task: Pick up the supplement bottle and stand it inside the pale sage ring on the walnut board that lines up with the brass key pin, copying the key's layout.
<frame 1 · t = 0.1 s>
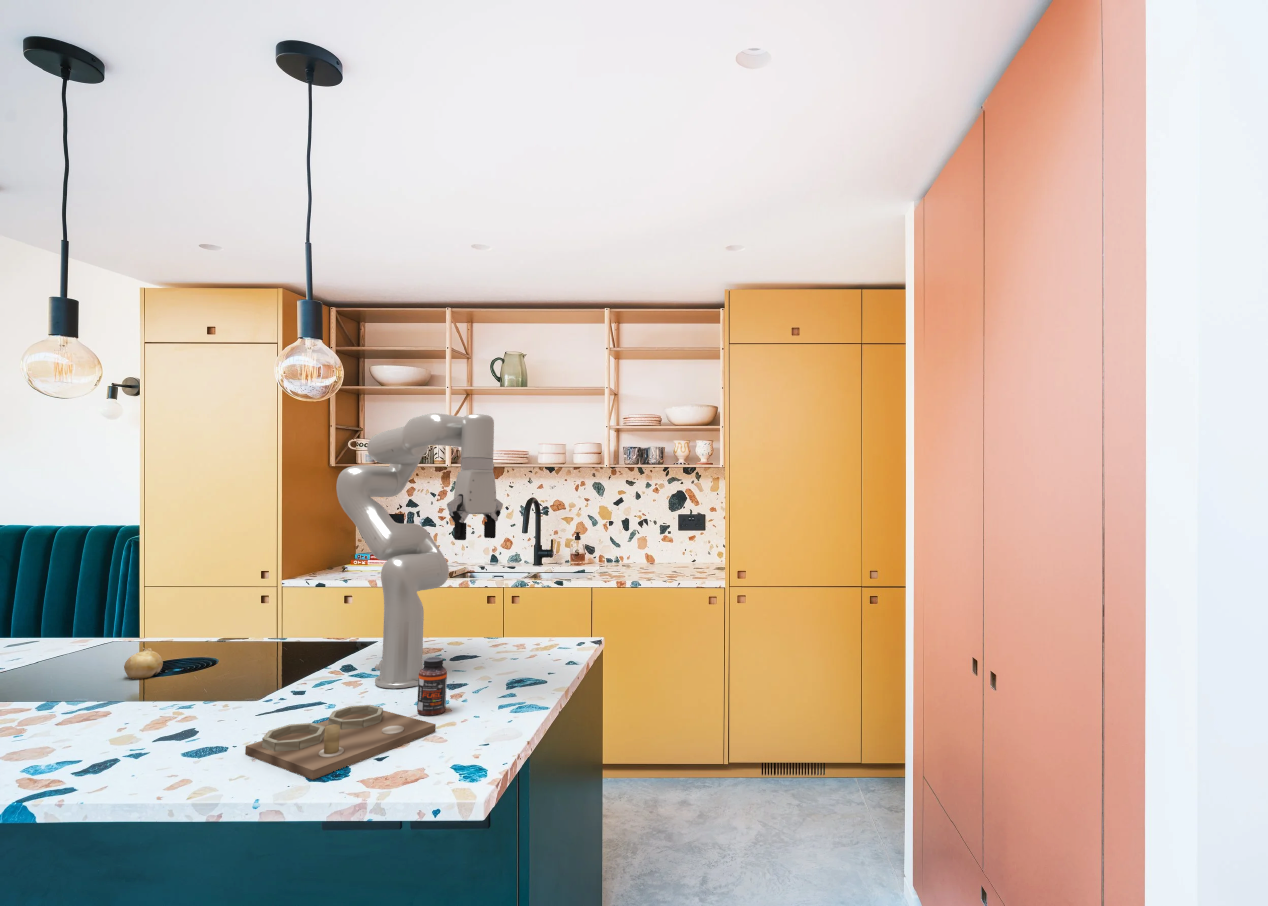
hand: (475, 538, 154), 37 cm above the counter, tool pointing down, fingers open, 9 cm apart
layout board: (345, 742, 123), on the counter
supplement bottle: (431, 712, 141), on the counter
onion: (143, 677, 166), on the counter
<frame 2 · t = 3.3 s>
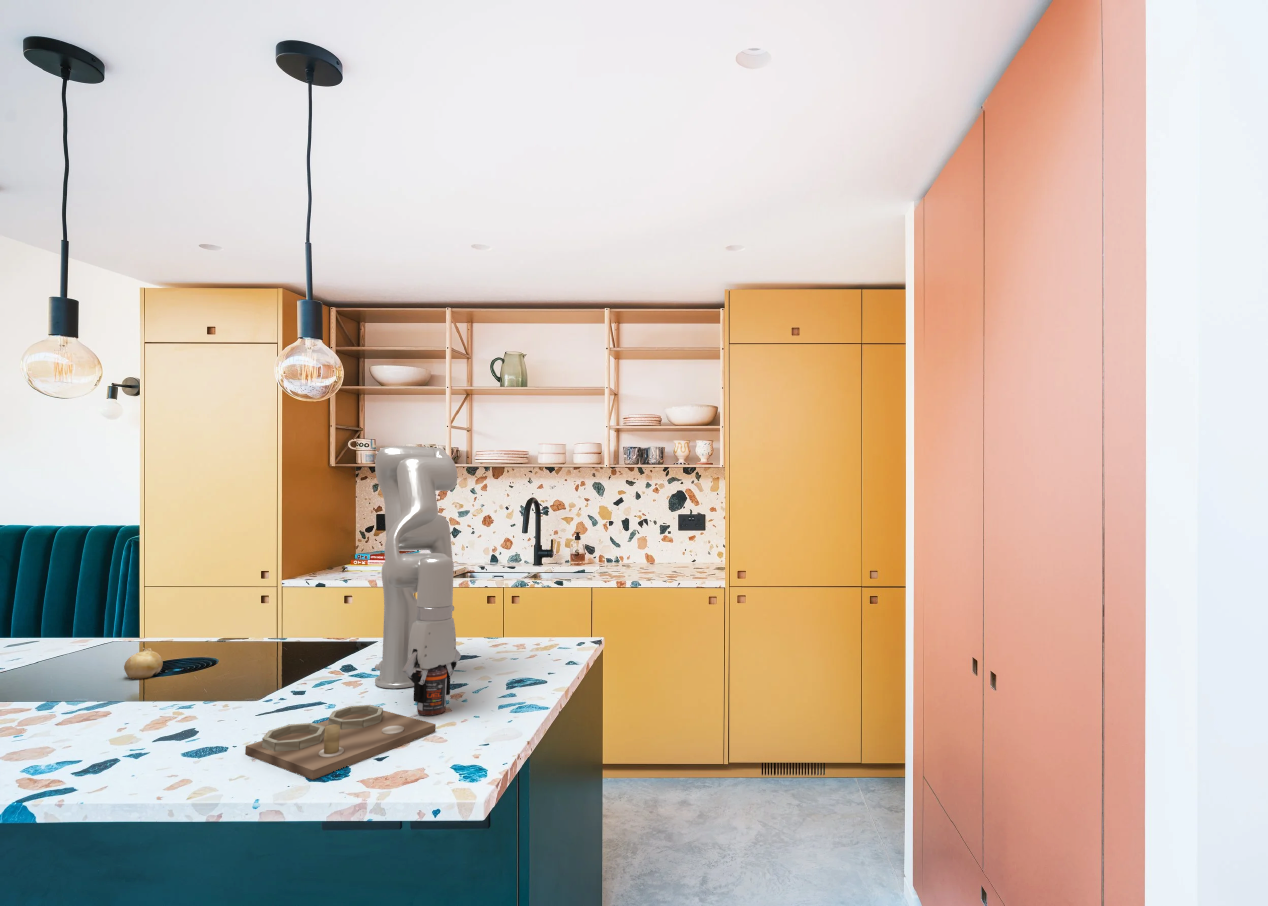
hand: (432, 697, 141), 3 cm above the counter, tool pointing down, fingers closed on supplement bottle, 6 cm apart
supplement bottle: (431, 712, 141), on the counter, touching gripper
everything else where it was.
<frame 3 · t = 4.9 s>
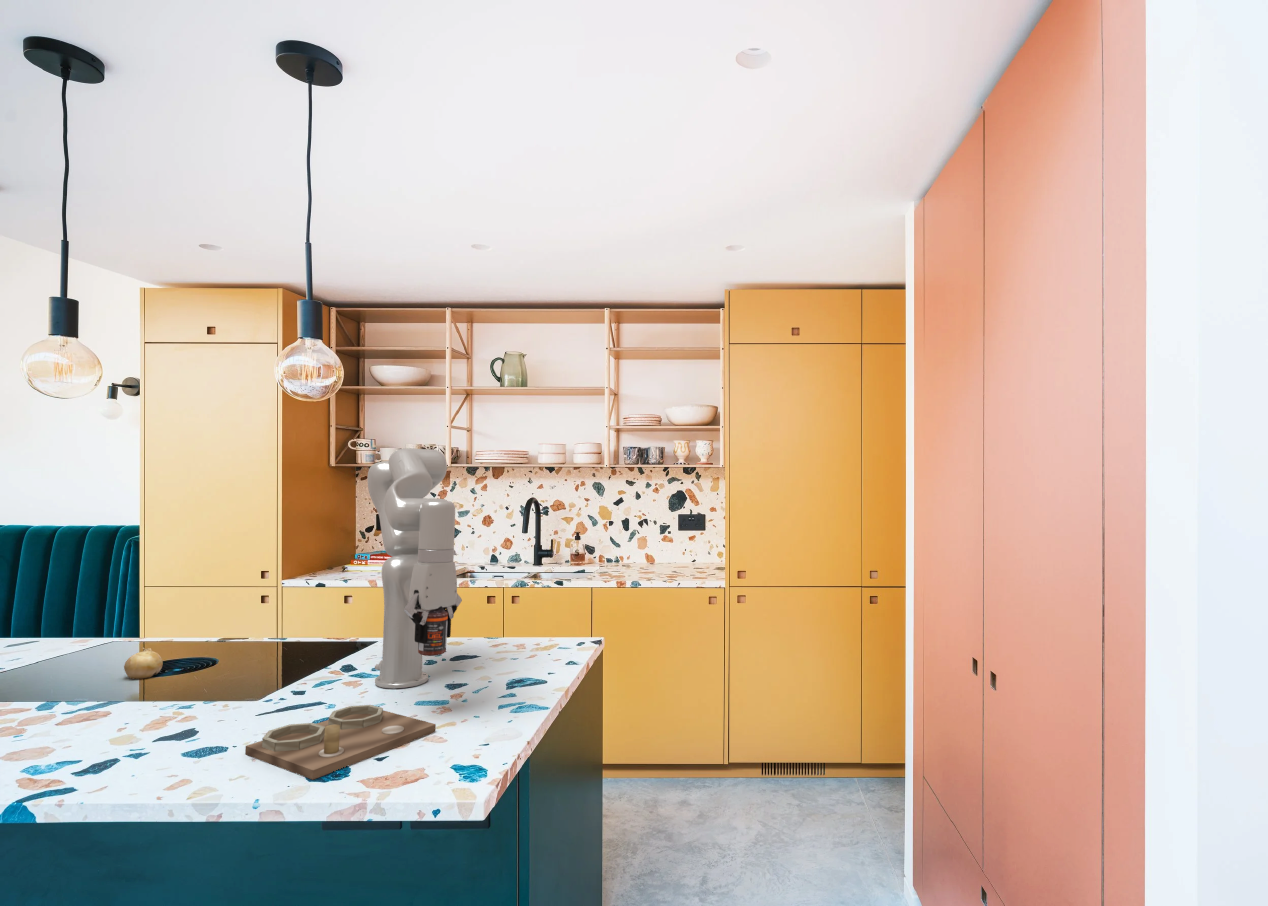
hand: (432, 638, 143), 15 cm above the counter, tool pointing down, fingers closed on supplement bottle, 6 cm apart
supplement bottle: (432, 654, 142), point 12 cm above the counter, touching gripper
everything else where it was.
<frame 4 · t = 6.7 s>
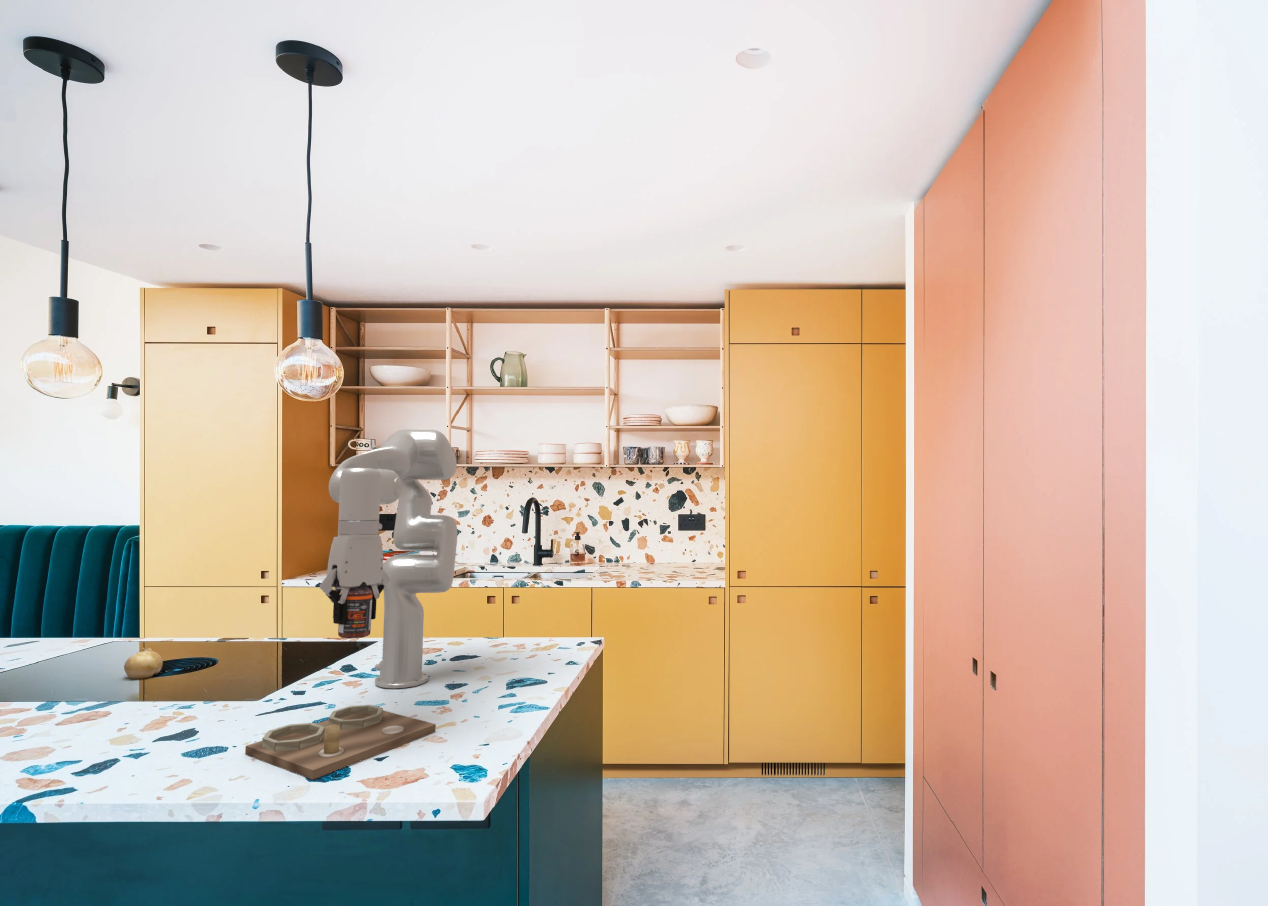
hand: (354, 620, 129), 22 cm above the counter, tool pointing down, fingers closed on supplement bottle, 5 cm apart
supplement bottle: (354, 637, 128), point 19 cm above the counter, touching gripper
everything else where it was.
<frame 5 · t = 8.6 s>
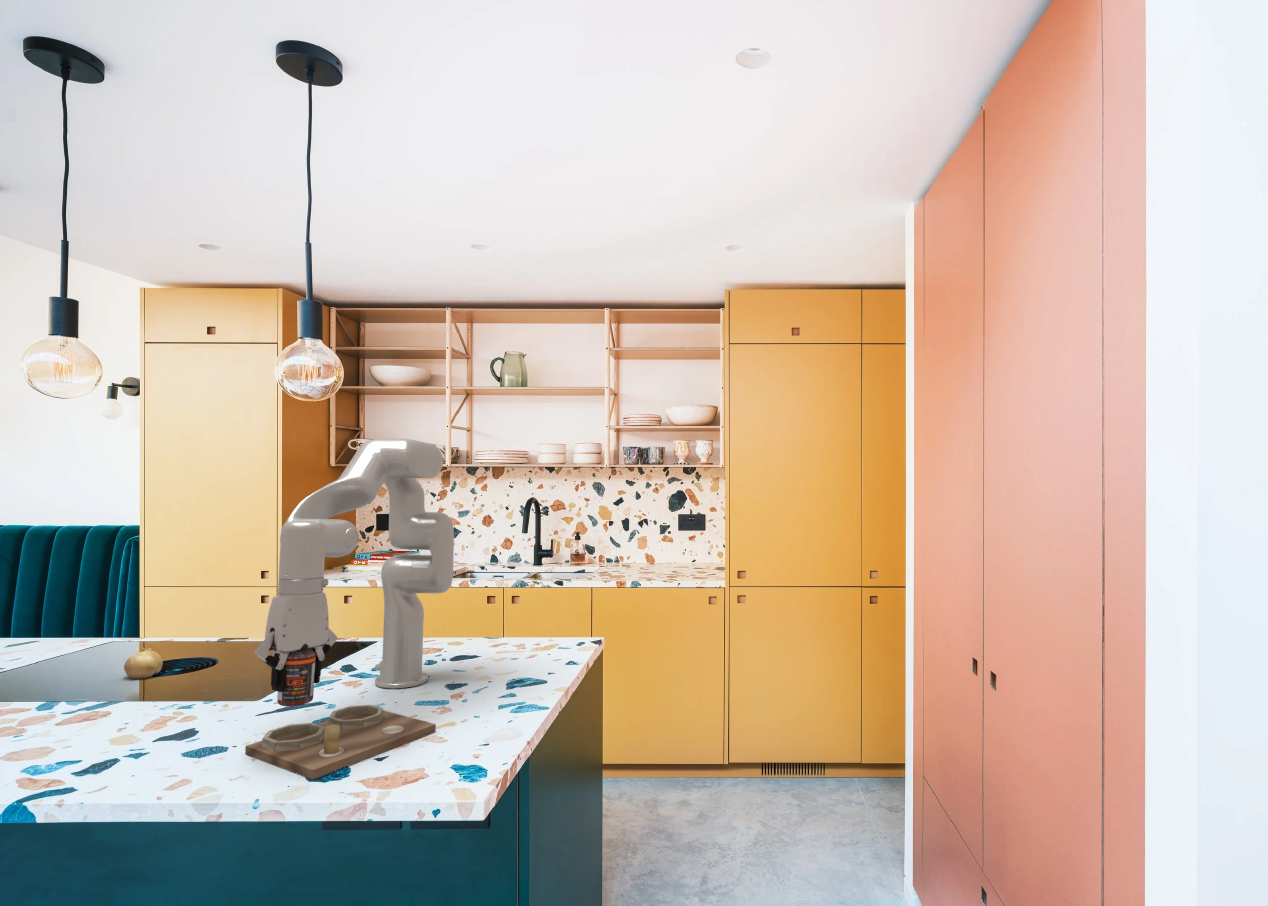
hand: (296, 685, 120), 11 cm above the counter, tool pointing down, fingers closed on supplement bottle, 5 cm apart
supplement bottle: (295, 703, 120), point 8 cm above the counter, touching gripper
everything else where it was.
when the fingers open (6 cm above the counter, at t = 10.2 s): supplement bottle drops 1 cm, resting on layout board.
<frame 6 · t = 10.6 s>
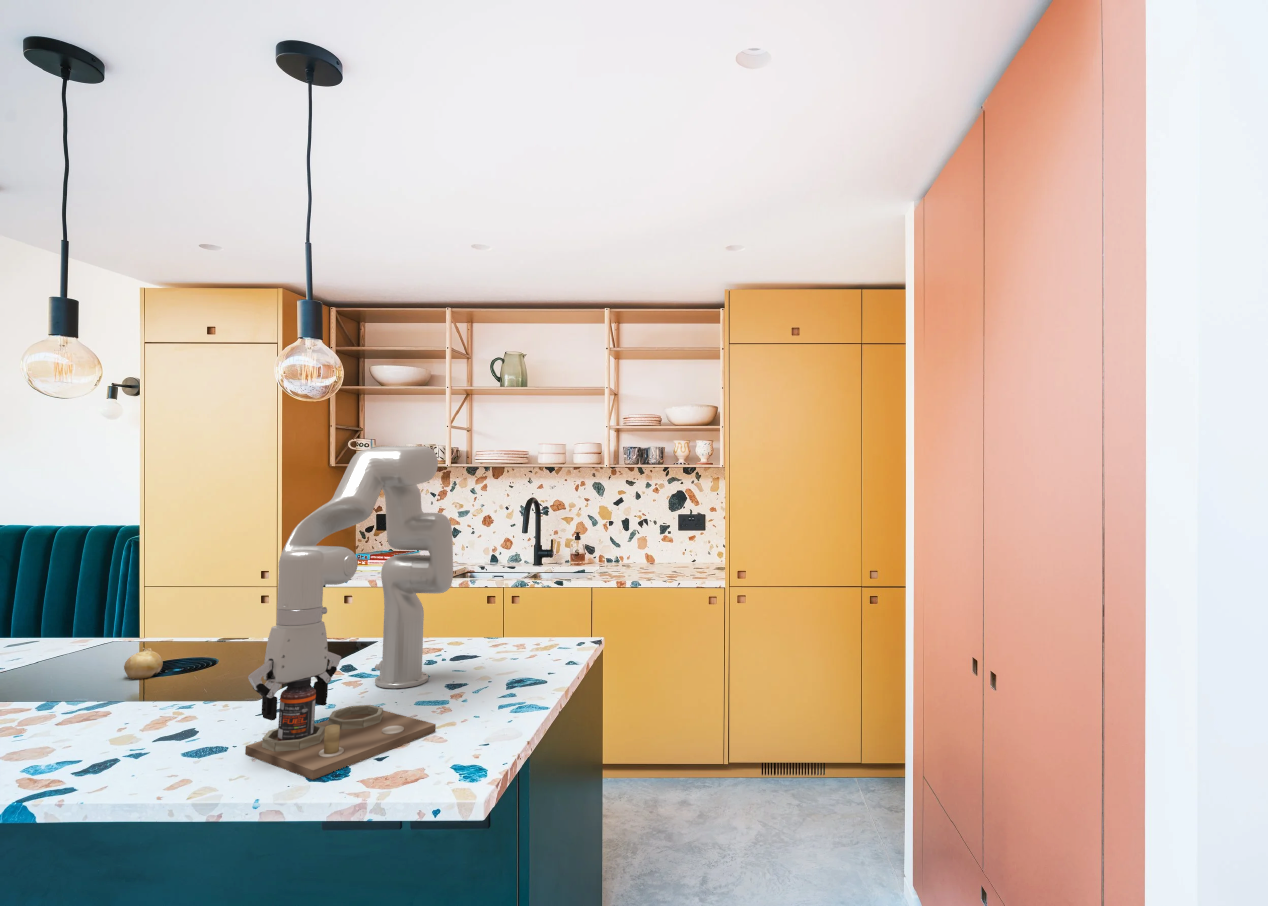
hand: (295, 711, 120), 7 cm above the counter, tool pointing down, fingers open, 9 cm apart
supplement bottle: (295, 741, 120), point 1 cm above the counter, touching layout board
everything else where it was.
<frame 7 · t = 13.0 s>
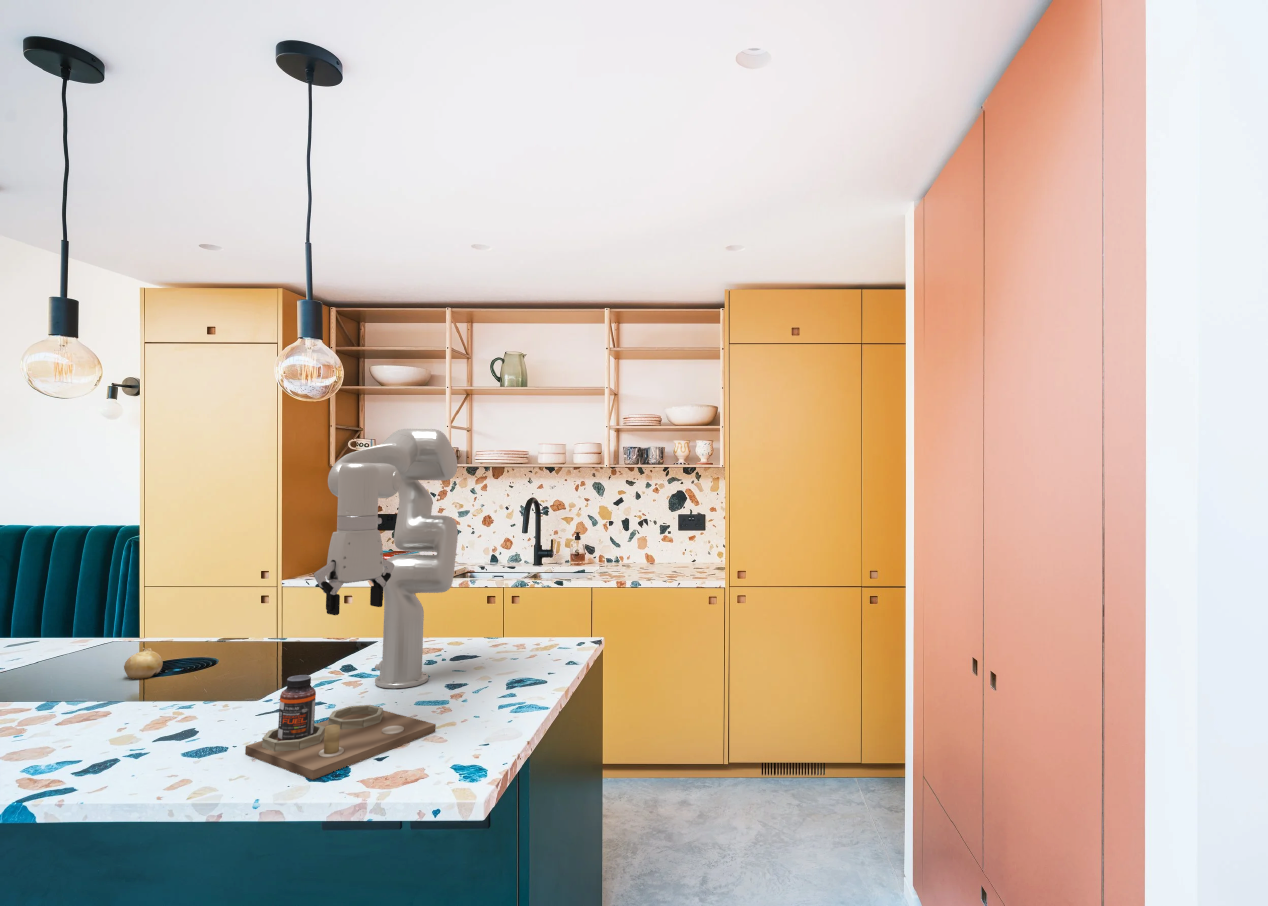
hand: (355, 610, 130), 24 cm above the counter, tool pointing down, fingers open, 9 cm apart
nothing on the counter moved.
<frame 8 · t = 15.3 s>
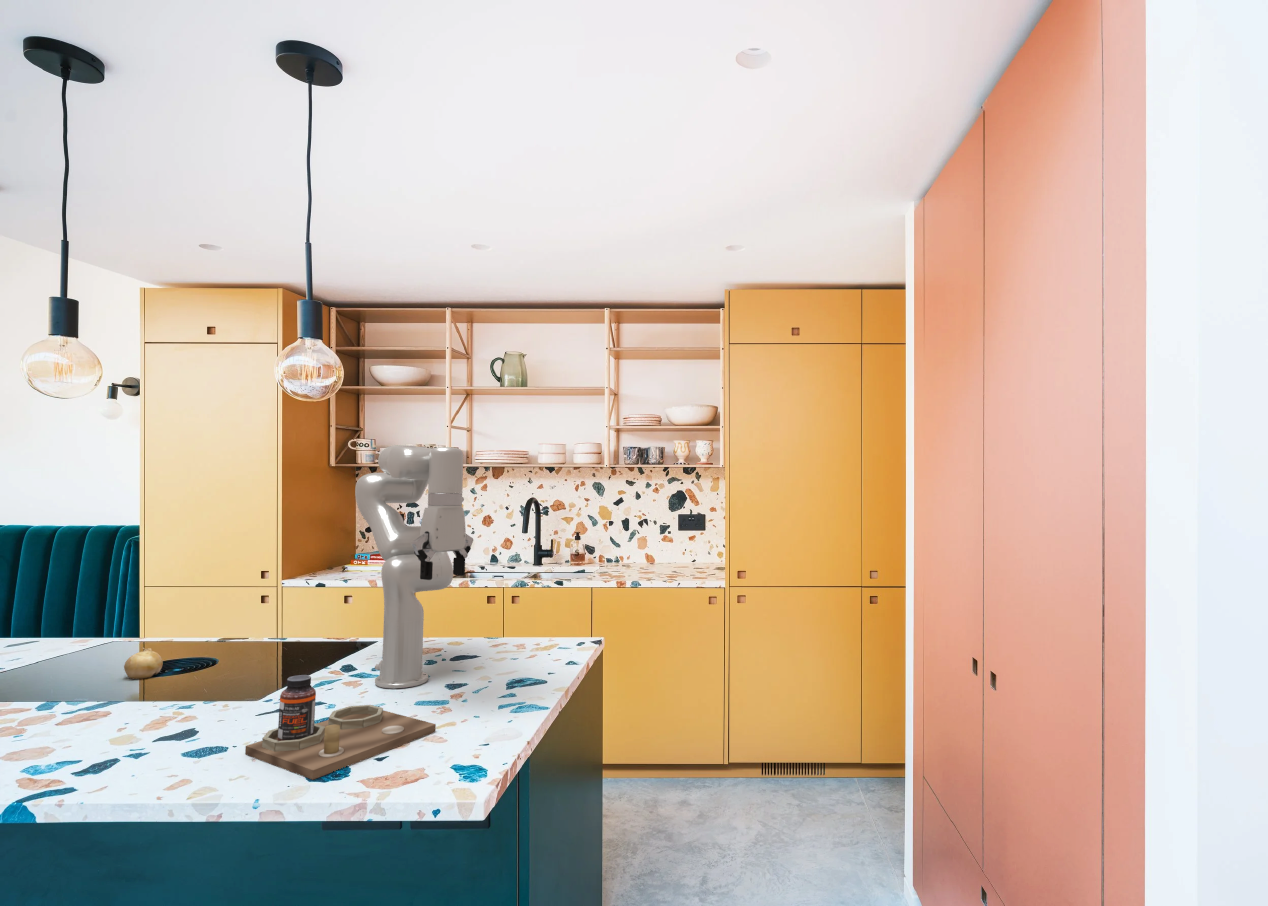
hand: (442, 577, 147), 28 cm above the counter, tool pointing down, fingers open, 9 cm apart
nothing on the counter moved.
at the end: supplement bottle 0.3 cm from the target spot, point 1.3 cm above the counter; supplement bottle tilted 0°; the gripper is holding nothing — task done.
